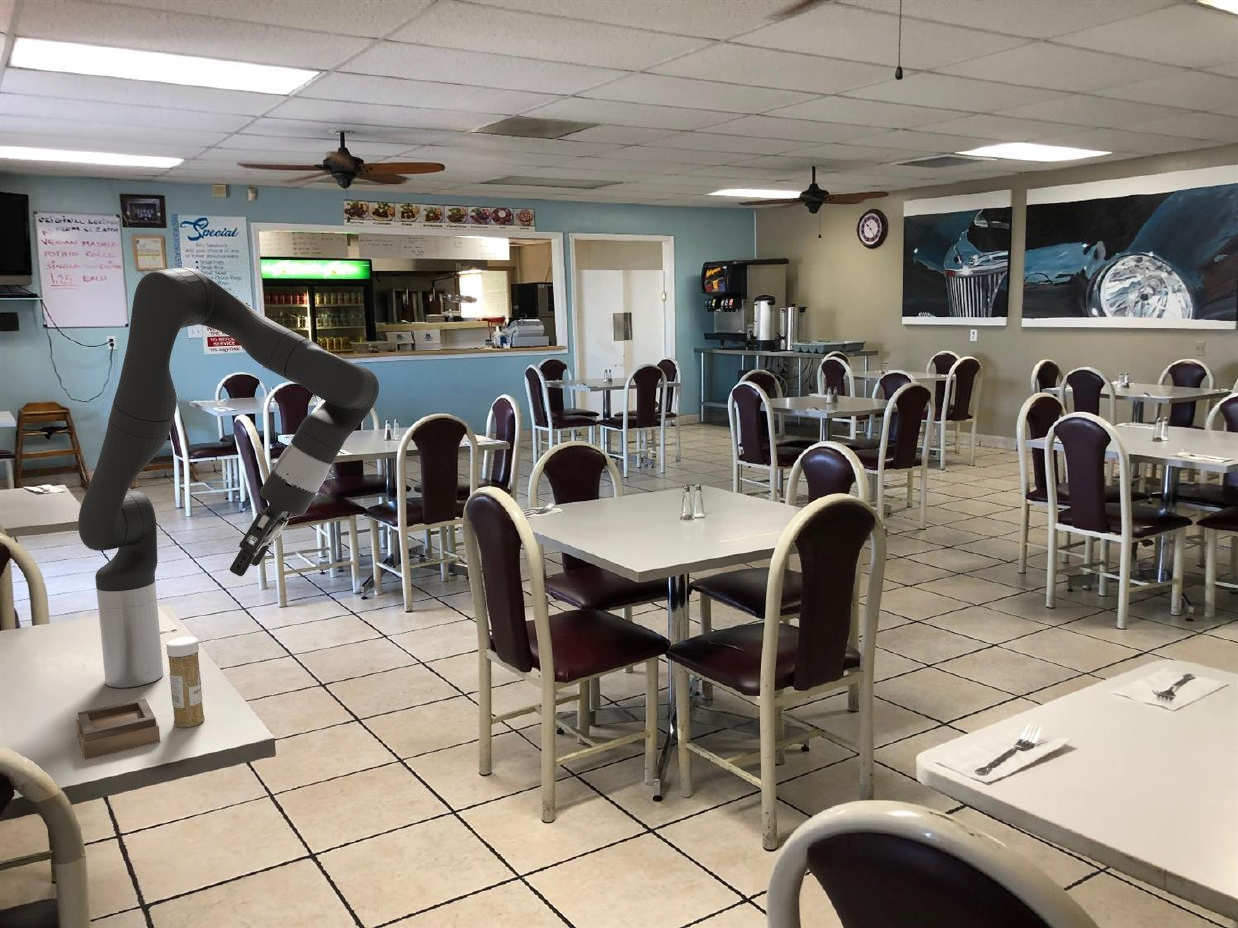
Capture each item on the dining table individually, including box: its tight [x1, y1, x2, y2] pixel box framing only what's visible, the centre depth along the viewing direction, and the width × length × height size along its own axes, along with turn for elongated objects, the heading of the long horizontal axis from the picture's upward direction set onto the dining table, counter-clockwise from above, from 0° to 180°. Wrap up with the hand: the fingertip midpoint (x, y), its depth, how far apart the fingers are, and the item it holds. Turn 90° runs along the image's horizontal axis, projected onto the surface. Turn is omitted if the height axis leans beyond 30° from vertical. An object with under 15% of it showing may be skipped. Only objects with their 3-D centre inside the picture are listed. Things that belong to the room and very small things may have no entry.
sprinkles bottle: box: [165, 636, 206, 728], centre depth 153 cm, size 5×5×13 cm
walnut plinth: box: [75, 698, 161, 760], centre depth 148 cm, size 10×10×4 cm
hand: (243, 568), depth 151 cm, fingers open, 8 cm apart
